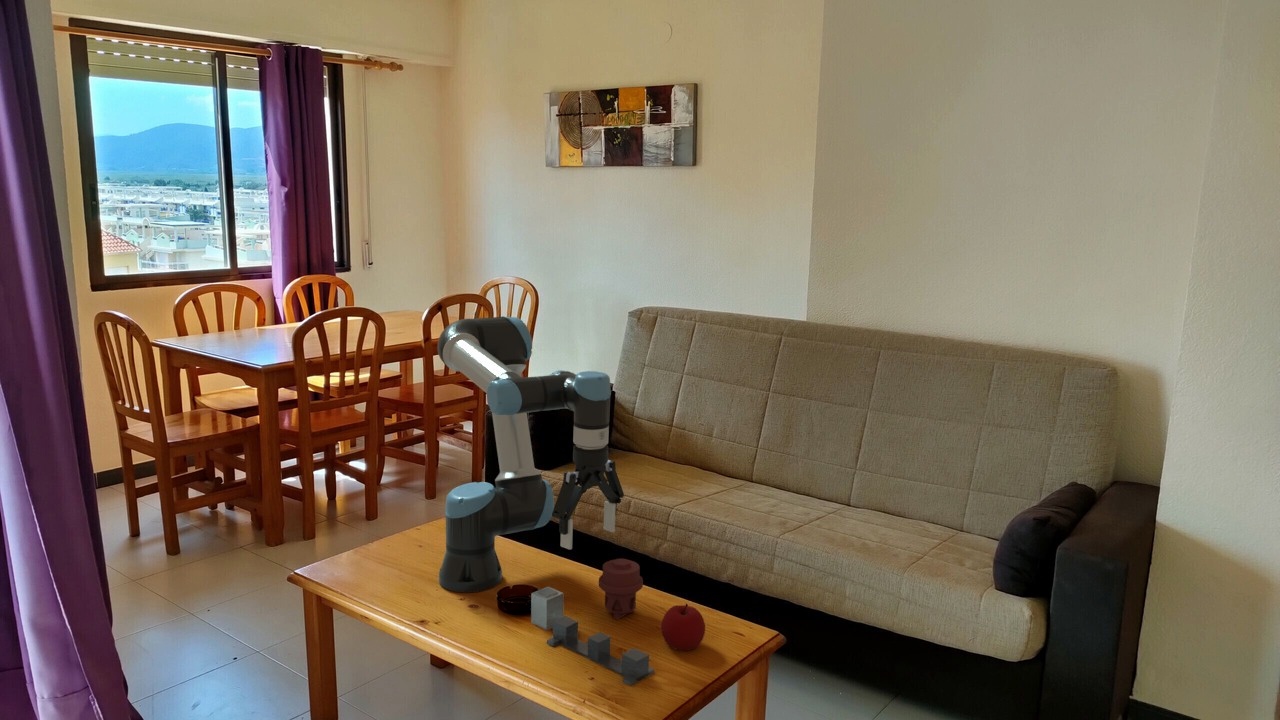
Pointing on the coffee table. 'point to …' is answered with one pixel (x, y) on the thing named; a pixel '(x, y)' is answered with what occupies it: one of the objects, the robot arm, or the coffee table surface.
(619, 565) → the mechanical component
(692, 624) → the apple
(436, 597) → the coffee table surface
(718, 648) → the coffee table surface
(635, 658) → the rail
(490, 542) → the robot arm
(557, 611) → the block
